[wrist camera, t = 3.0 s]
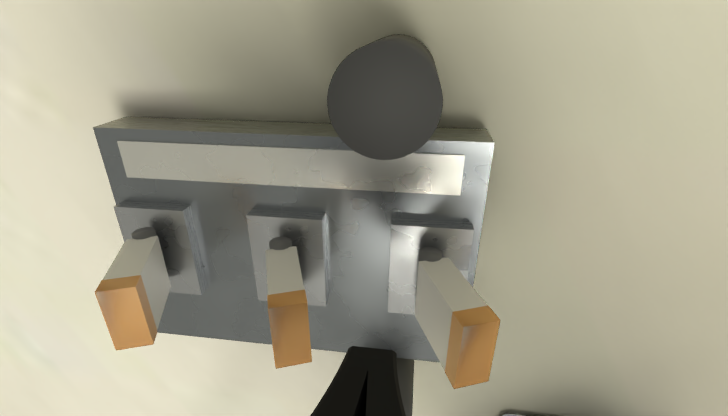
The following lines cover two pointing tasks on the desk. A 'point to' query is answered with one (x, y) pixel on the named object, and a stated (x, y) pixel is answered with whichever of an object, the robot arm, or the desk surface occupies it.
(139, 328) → the orange and white block
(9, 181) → the desk surface
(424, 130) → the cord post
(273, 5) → the desk surface
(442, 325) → the white and orange block
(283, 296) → the white and orange block
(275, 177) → the breaker panel
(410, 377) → the cylinder
